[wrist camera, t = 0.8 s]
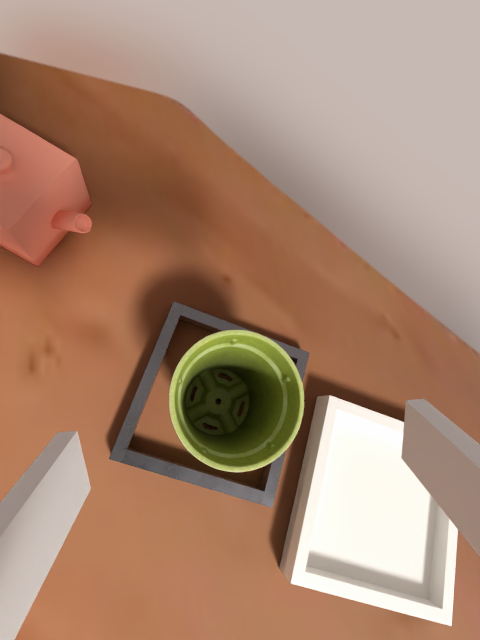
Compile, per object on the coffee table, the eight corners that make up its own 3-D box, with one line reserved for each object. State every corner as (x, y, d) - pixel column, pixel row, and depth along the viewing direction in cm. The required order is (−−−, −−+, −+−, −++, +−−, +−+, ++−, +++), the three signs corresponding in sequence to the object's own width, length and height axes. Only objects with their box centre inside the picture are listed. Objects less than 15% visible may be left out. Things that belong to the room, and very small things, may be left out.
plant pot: (184, 337, 30) (194, 311, 22) (275, 366, 32) (315, 352, 24) (150, 439, 27) (147, 451, 19) (252, 466, 29) (289, 488, 21)
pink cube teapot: (74, 289, 29) (45, 247, 22) (-49, 221, 28) (-126, 150, 21) (123, 227, 32) (112, 170, 24) (12, 163, 31) (-36, 81, 23)
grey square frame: (173, 306, 31) (173, 301, 30) (302, 355, 33) (309, 352, 32) (111, 456, 26) (108, 458, 25) (266, 502, 28) (272, 507, 27)
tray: (317, 396, 32) (329, 395, 30) (442, 441, 34) (463, 443, 32) (279, 568, 27) (290, 583, 25) (427, 608, 29) (451, 626, 27)
